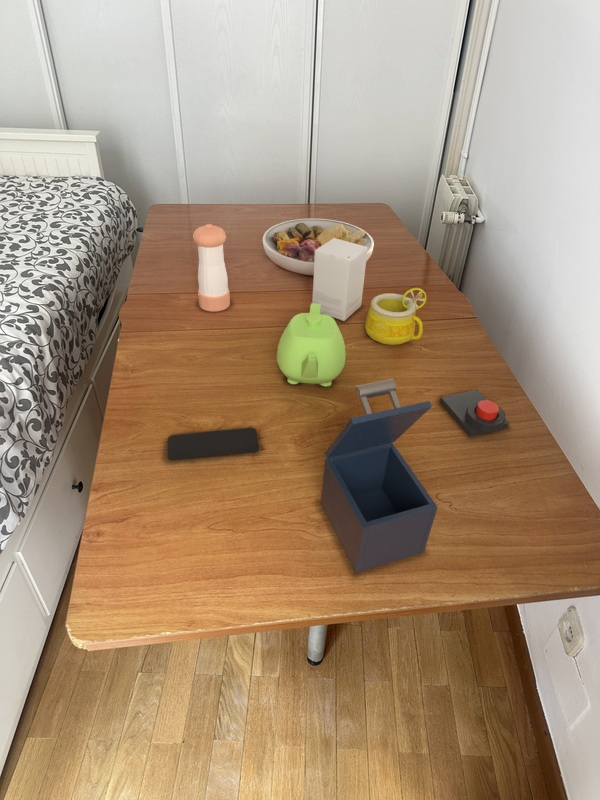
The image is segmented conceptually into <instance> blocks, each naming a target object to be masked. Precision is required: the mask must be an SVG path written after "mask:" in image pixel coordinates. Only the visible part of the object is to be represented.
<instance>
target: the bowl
mask: <svg viewBox="0 0 600 800" xmlns="http://www.w3.org/2000/svg"><path fill="white" fill-rule="evenodd" d="M333 238H336V239H340V240H343V241H347V242H351V243H354V244H358V245H362V246H366V247H368V251H367V259H366V263H367V262H368V261H369V259H370V258H371V256H372V255H373V251H374V243H375V242H374V239H373V237H372V236H371V234H369V233H368V232H367V231H366V230H364V229H362V228H361V227H358V226H356V225H354V224H351V223H347V222H345V221H340V220H335V219H328V218H315V217H313V218H312V217H311V218H296V219H291V220H285V221H283V222H282V221H281V222H279V223H277V224H274V225H273V226H271V227H269V228H268V229H267V230H266V231H265V232H264V234H263V236H262V245H263V250H264V252H265V254H266V256H267V257H268V258H269V259H270V260H271V261H272V262H273V263H274V264H275V265H277V266H279V267H280V268H282V269H285V270H287V271H289V272H291V273H296V274H301V275H306V276H311V277H312V276H313V277H314V258H315V250H316V249H318V248H319V247H321V246H322V245H324V244H326V243H327V242H329V241H330V240H331V239H333Z"/></svg>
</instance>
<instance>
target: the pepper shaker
mask: <svg viewBox="0 0 600 800" xmlns="http://www.w3.org/2000/svg"><path fill="white" fill-rule="evenodd" d="M192 238H193V241H194V243H195V244H196V245H197V251H198V253H197V254H198V269H197V271H198V272H197V282H198V290H197V296H198V297H197V298H198V306H199V307H200V309H202V310H204V311H206V312H221V311H224V310H226V309H228V308H229V307H230V305H231V292H230V288H229V285H228V284H229V282H228V273H227V268H226V264H225V259H224V258H225V256H224V244H225V241H226V239H227V234H226V232H225V231H224V229H223V228H222V227H220V226H217V225H213V224H212V223H206V224H205V225H202V226H199V227H197V228H196V229H195V231H194V232H193V236H192Z"/></svg>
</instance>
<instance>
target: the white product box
mask: <svg viewBox="0 0 600 800" xmlns="http://www.w3.org/2000/svg"><path fill="white" fill-rule="evenodd" d="M367 251H368V247H366V246H362V245H358V244H354V243H351V242H347V241H343V240H340V239H336V238H333V239H331V240H330V241H329V242H327V243H326V244H324V245H322V246H321V247H319V248H318V249H316V250H315V258H314V276H313V280H312V282H313V283H312V302H311V303H314V304H321V311H320V314H324V315H328V316H330V317H332V318H333V319H337V320H340V321H342V322H345V321H347V319H349V317H351V316H352V315H353V314H354V313H355V312H356V311H358V310H359V309H360V308H361V307H362V302H363V293H364V283H365V276H366V269H367V267H366V266H367V262H366V259H367Z"/></svg>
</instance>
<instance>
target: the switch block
mask: <svg viewBox="0 0 600 800" xmlns="http://www.w3.org/2000/svg"><path fill="white" fill-rule="evenodd" d="M483 400H488V399H487V398H486V397H485V396H484V395H483V394H482V393H481V392H480V390H478V389H474V390H473V389H472V390H468V391H464V392H460V393H455V394H449V395H446V396H441V397H440V400H439V403H440V404H441V405H442V407H443V408H444V409H445V410H446V411H447V413H449V415H450V417H452V419H454V421H455V422H456V423H457V424H458V425H459V427H460V428H462V430H463V431H464V432H465V433H466V434H467V436H468V437H475V436H479V435H484V434H487V433H491V434H492V433H496V432H500V430H503V429H508V427H509V424H510V422H509V421H508V420H507V417H506V412H505V411H504V410H503V408H501V406H499V405H498V407H499V411H498V414H497V417H496V418H495V419H494V420H491V421H489V420H484V419H482V418H480V417H478V416H477V415H476V409H477V406H478V403H479V402H480V401H483Z"/></svg>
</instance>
